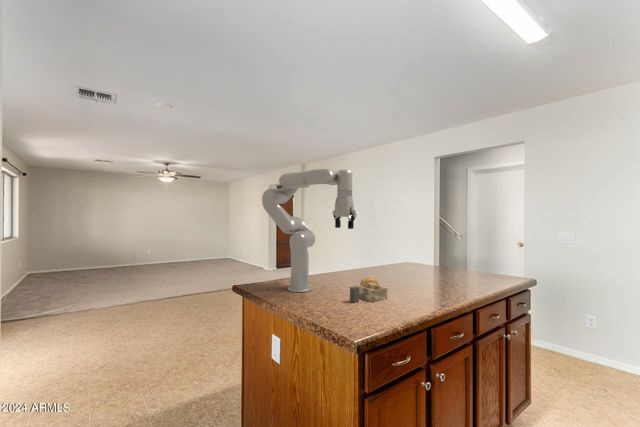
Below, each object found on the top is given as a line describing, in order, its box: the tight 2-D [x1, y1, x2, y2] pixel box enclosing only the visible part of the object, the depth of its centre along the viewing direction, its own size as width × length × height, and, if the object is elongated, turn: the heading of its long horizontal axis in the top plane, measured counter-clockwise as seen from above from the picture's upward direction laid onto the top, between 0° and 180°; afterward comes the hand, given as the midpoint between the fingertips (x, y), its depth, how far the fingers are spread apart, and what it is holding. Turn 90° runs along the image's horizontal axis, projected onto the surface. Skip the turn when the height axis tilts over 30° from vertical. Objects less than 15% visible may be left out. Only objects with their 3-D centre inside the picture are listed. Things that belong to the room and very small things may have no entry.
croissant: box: [359, 276, 380, 286], centre depth 175 cm, size 21×10×8 cm, turn 15°
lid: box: [349, 285, 360, 304], centre depth 150 cm, size 13×10×8 cm
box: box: [356, 283, 388, 303], centre depth 157 cm, size 12×9×6 cm
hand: (344, 228), depth 162 cm, fingers open, 9 cm apart
